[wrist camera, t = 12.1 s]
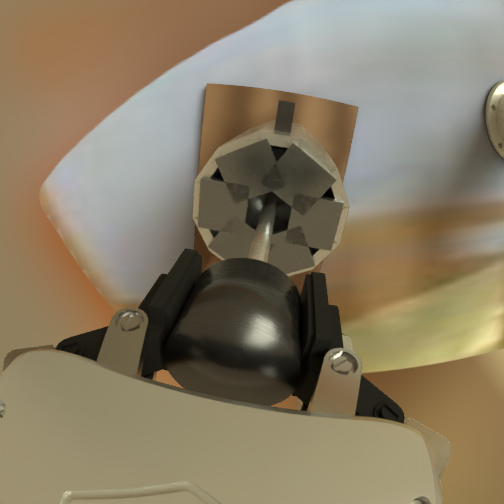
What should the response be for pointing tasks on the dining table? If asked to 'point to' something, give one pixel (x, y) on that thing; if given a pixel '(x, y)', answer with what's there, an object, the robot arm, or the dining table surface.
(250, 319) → the steel plunger
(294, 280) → the walnut board
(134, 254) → the dining table surface
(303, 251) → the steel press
